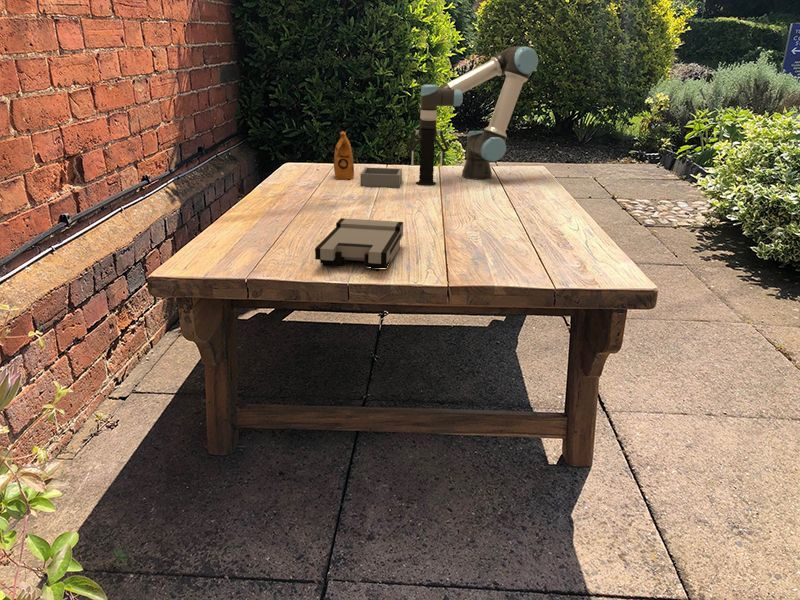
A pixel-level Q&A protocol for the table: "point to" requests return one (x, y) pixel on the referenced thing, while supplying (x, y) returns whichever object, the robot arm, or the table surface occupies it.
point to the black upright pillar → (426, 158)
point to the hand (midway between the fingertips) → (426, 165)
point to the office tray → (361, 243)
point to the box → (381, 177)
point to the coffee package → (343, 159)
